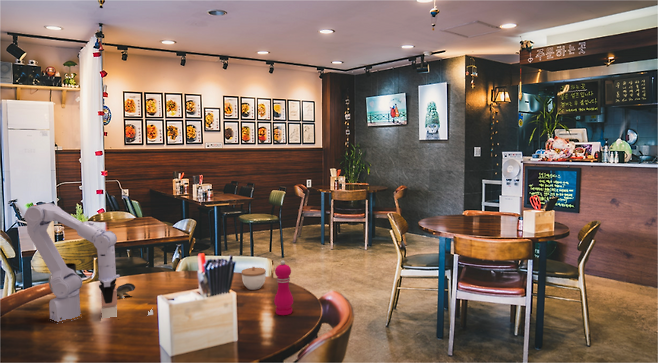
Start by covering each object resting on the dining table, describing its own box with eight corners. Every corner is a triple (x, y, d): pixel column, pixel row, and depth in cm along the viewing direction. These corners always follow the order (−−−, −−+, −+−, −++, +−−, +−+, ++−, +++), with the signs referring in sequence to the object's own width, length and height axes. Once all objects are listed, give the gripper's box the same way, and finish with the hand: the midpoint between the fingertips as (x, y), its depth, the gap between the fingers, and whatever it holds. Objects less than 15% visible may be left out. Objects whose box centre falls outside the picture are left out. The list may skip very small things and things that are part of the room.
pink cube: (101, 306, 167) (101, 292, 167) (102, 302, 172) (101, 289, 171) (116, 304, 169) (116, 290, 169) (117, 300, 174) (116, 287, 173)
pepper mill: (290, 316, 169) (289, 263, 167) (271, 315, 170) (270, 262, 169) (295, 309, 176) (294, 258, 174) (277, 308, 177) (276, 257, 176)
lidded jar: (239, 286, 207) (238, 265, 207) (262, 282, 212) (261, 262, 211) (245, 292, 198) (244, 271, 197) (269, 289, 202) (268, 268, 202)
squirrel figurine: (120, 301, 186) (139, 291, 193) (111, 286, 186) (130, 277, 194) (113, 308, 190) (131, 297, 198) (104, 293, 191) (122, 284, 198)
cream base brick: (101, 319, 167) (101, 308, 167) (102, 315, 172) (101, 304, 171) (116, 317, 169) (116, 306, 169) (117, 313, 174) (116, 302, 174)
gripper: (118, 268, 164) (120, 305, 165) (119, 259, 177) (120, 293, 178) (96, 270, 161) (98, 308, 162) (98, 261, 174) (100, 296, 175)
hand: (108, 300), depth 170 cm, fingers closed on pink cube, 5 cm apart
